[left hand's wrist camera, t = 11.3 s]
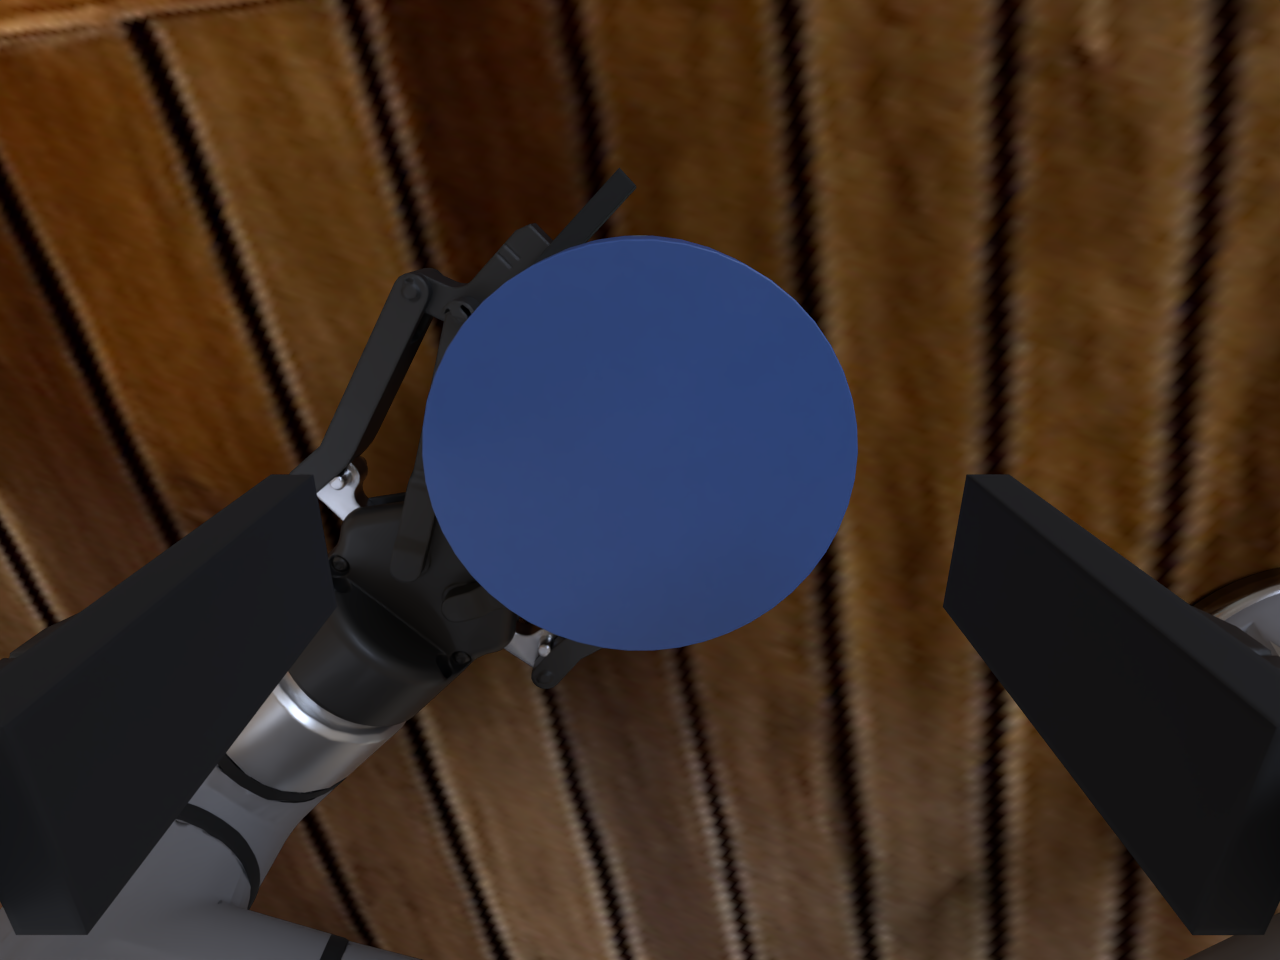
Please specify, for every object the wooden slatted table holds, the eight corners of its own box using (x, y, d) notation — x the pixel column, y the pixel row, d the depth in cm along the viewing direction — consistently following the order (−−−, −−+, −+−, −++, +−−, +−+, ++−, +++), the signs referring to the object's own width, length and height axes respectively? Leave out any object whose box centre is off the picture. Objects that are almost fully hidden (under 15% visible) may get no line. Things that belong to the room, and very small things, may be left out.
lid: (919, 388, 18) (950, 408, 16) (688, 669, 21) (693, 712, 19) (575, 142, 16) (567, 133, 14) (376, 494, 19) (348, 523, 17)
